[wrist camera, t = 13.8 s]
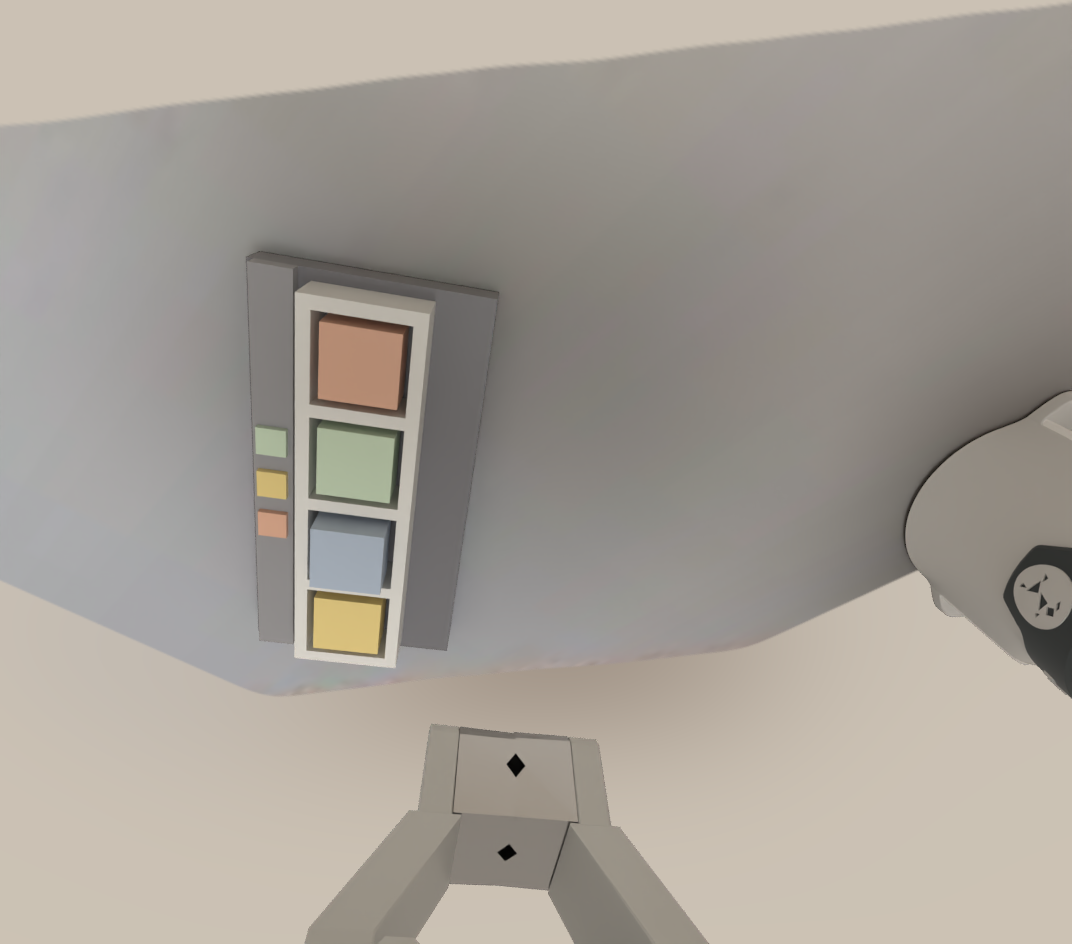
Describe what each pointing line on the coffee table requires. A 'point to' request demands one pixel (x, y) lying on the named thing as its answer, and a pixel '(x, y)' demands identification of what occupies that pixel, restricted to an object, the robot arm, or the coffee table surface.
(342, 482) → the key sage
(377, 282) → the coloured button panel
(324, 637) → the key ochre
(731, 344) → the coffee table surface
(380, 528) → the key slate
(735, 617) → the coffee table surface
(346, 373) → the key terracotta
